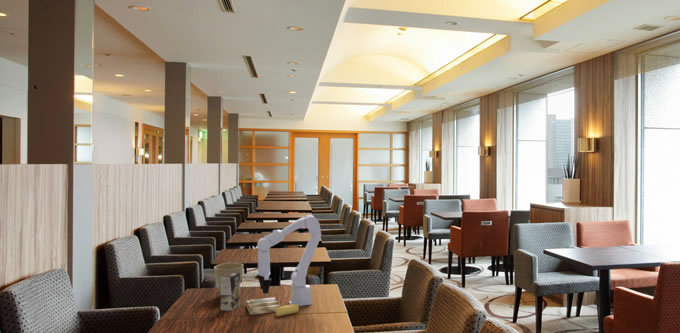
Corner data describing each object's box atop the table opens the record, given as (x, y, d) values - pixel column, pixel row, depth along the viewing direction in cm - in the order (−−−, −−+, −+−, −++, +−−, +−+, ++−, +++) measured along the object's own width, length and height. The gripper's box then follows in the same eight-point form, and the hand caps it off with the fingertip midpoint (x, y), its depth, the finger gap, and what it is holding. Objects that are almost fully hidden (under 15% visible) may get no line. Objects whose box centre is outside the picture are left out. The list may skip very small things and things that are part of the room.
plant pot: (221, 291, 244) (220, 262, 244) (247, 292, 242) (247, 263, 242) (209, 300, 229) (209, 268, 229) (237, 301, 227) (237, 269, 227)
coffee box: (232, 311, 212) (232, 276, 212) (220, 310, 214) (219, 276, 214) (241, 305, 221) (240, 272, 221) (228, 304, 223) (228, 271, 222)
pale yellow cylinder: (294, 311, 212) (294, 302, 212) (298, 313, 209) (298, 304, 209) (275, 315, 207) (275, 306, 207) (279, 317, 203) (279, 308, 203)
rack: (275, 302, 224) (275, 296, 224) (280, 311, 212) (280, 304, 212) (246, 306, 220) (246, 299, 220) (250, 314, 207) (250, 308, 207)
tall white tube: (274, 304, 223) (274, 296, 223) (275, 306, 219) (275, 298, 219) (253, 306, 219) (253, 298, 219) (254, 309, 216) (254, 300, 215)
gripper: (253, 260, 224) (253, 288, 224) (258, 267, 211) (258, 296, 211) (267, 259, 227) (267, 286, 227) (273, 265, 213) (273, 294, 213)
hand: (264, 291), depth 219 cm, fingers open, 7 cm apart
